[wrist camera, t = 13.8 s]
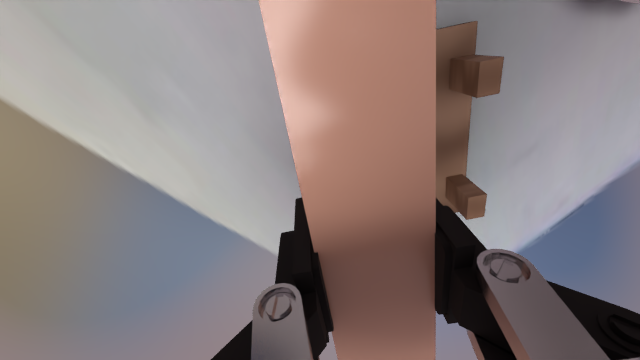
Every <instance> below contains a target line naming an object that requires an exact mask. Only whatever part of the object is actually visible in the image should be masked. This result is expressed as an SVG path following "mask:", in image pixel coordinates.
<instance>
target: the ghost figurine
mask: <svg viewBox="0 0 640 360" xmlns="http://www.w3.org/2000/svg"><path fill="white" fill-rule="evenodd" d="M620 1H624V2H630V3H640V0H620Z"/></svg>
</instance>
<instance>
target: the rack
mask: <svg viewBox="0 0 640 360" xmlns="http://www.w3.org/2000/svg"><path fill="white" fill-rule="evenodd" d="M477 23H478V21H473V22H468V23H463V24H458V25H454V26H449V27H445V28H440V29H436V198H437V199H438V200H439V202H440V203H441V204H442V205H443V206H444V205H447V206H449V207H450V208H451V209H452V210H453V211H454V213H456V212H460V213H461V214H462V215H463V216H464V218H465V219H466V220H467V219H473V218H478V217H483V216H484V213H485V205H486V197H487V194H486V193H485V192H484V191H482V190H481V189H480V188H479V187H477V186H476V185H475V184H474V183H473V182H471V181H470V180H469V179H468V178H466V167H467V154H468V140H469V127H470V114H471V101H472V96H473V97H476V98H479V97H483V96H488V95H493V94H498V93H499V92H500V84H501V76H502V68H503V60H504V57H499V56H483V55H475V49H476V36H477Z"/></svg>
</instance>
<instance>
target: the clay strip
mask: <svg viewBox="0 0 640 360" xmlns="http://www.w3.org/2000/svg"><path fill="white" fill-rule="evenodd" d="M259 4H260V9H261V13H262V18H263V22H264V27H265V31H266V36H267V40H268V45H269V50H270V54H271V59H272V63H273V68H274V72H275V77H276V81H277V86H278V90H279V95H280V99H281V104H282V108H283V113H284V118H285V122H286V127H287V131H288V136H289V140H290V145H291V149H292V154H293V158H294V163H295V167H296V172H297V176H298V181H299V185H300V190H301V195H302V199H303V204H304V208H305V213H306V217H307V222H308V226H309V231H310V235H311V240H312V244H313V249H314V253H316V252H318V255H319V260H320V264H321V269H322V274H323V278H324V283H325V288H326V292H327V297H328V302H329V306H330V311H331V316H332V320H333V326H334V331H332V335H333V339H334V344H335V348H336V353H337V357H338V360H435V335H436V334H435V333H436V332H435V330H436V329H435V328H436V325H435V324H436V322H435V321H436V320H435V318H436V317H435V315H436V310H435V233H436V0H259Z"/></svg>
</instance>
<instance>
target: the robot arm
mask: <svg viewBox="0 0 640 360" xmlns="http://www.w3.org/2000/svg"><path fill="white" fill-rule="evenodd" d="M435 310H436V311H437V313H438V314H443V315H444V317H445V319H446V321H447V323H448V324H451V323H457V322H458V324H459V325H460V326H462V327H464V328H466V329H467V334H468V336H469V339H470V341H471V343H472V346H473V349H474V351H475V354H476V356H477V359H478V360H640V314H638V313H635V312H633V311H630V310H628V309H625V308H623V307H620V306H617V305H614V304H611V303H608V302H605V301H603V300H600V299H597V298H594V297H591V296H589V295H586V294H583V293H580V292H577V291H575V290H572V289H569V288H566V287H563V286H560V285H558V284H555V283H552V282H549V281H546V280H545V279H544V278H543V276H542V275H541V274H540V273H539V271H538V270H537V269H536V268H535V266H534V265H533V264H532V263H531V262H530V261H528V260H527V259H526V258H524V257H523V256H521V255H519V254H517V253H514V252H512V251H508V250H503V249H490V250H487V249H486V248H485V247H484V245H483V244H482V243H481V242H480V241H479V240H478V239H477V238H476V236H475V235H474V234H473V233H472V232H471V231H470V230H469V228H468V227H467V226H466V225H465V224H464V223H463V222H462V220H461V219H460V218H459V217H458V216H457V215H456V214H455V213H454V211H453V210H452V209H451V208H450V207H449V206H447V205H444V206H443V205H442V204H441V203H440V202H439V200H438V199H437V198H436V233H435ZM331 331H334V326H333V320H332V316H331V311H330V306H329V302H328V297H327V292H326V288H325V283H324V278H323V274H322V269H321V264H320V260H319V255H318V252H316V253H314V249H313V244H312V240H311V235H310V231H309V226H308V222H307V217H306V213H305V208H304V204H303V199H302V198H297V199H296V205H295V225H294V231H290V232H284V233H281V238H280V246H279V254H278V263H277V271H276V281H275V285H273V286H270V287H268V288H267V289H266V290H264V291H263V292H262V293H261V294H260V295H259V296H258V297H257V299H256V301H255V303H254V307H253V320H252V321H251V322H250V323H249V324H248V325H247V326H246V327H245V328H244V329H243V330H241V332H239V334H237V335H236V336H235V337H234V338H233V339H232V340H231V341H230V342H229V343H228V344H227V345H226V346H225V347H224V348H223V349H221V350H220V351H219V353H217V354H216V355H215V356H214V357H213V358H212V359H211V360H320V359H319V355H320V354H321V352H322V351H323V350H324V349H325V347H326V346H327V344H326V343H328V342H329V335H328V332H331Z"/></svg>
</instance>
